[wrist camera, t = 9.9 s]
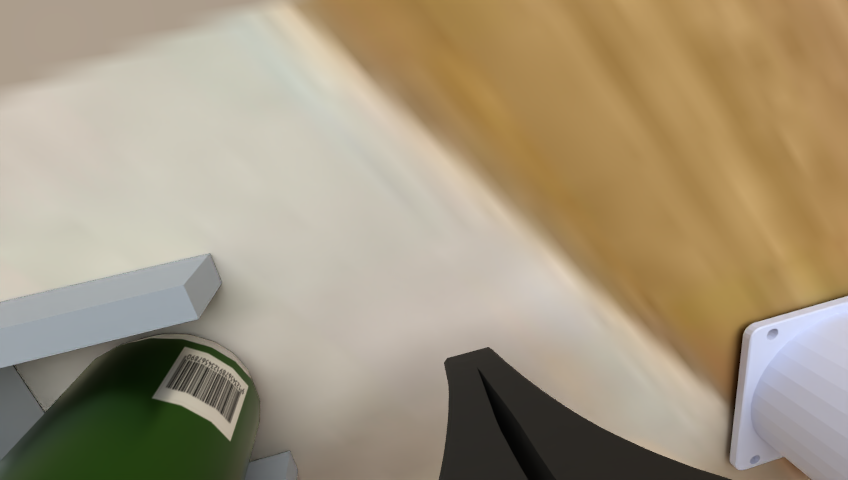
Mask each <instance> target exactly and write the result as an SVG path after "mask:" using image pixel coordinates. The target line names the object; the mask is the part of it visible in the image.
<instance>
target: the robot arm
mask: <svg viewBox="0 0 848 480" xmlns="http://www.w3.org/2000/svg"><path fill="white" fill-rule="evenodd" d="M444 365H445V370H446V375H447V379H448V385H449V412H448V424H447V434H446V443H445V450H444V456H443V462H442V467H441V472H440V477H439V480H731V479H728V478H725V477H721V476H718V475H715V474H712V473H709V472H706V471H702V470H699V469H696V468H693V467H691V466H688V465H685V464H683V463H680V462H677V461H675V460H672V459H670V458H667V457H664V456H662V455H659V454H657V453H654V452H652V451H650V450H647V449H645V448H643V447H640V446H638V445H636V444H634V443H632V442H630V441H628V440H625V439H623V438H621V437H619V436H617V435H614V434H613V433H611V432H609V431H607V430H605V429H603V428H601V427H599V426H597V425H595V424H594V423H592V422H590V421H588V420H587V419H585V418H583V417H581V416H580V415H578V414H576V413H575V412H573V411H572V410H570V409H568V408H567V407H565V406H564V405H562V404H561V403H559V402H558V401H556V400H555V399H553V398H552V397H550V396H549V395H548V394H546V393H545V392H543V391H542V390H541V389H539V388H538V387H537V386H535V385H534V384H533V383H531V382H530V381H529V380H527V379H526V378H525V377H524V376H522V375H521V374H520V373H519V372H517V371H516V370H515V369H514V368H513V367H511V366H510V365H509V364H508V363H507V362H505V361H504V360H503V359H502V358H501V357H500V356H499V355H498V354H496V353H495V352H494V351H493V350H492V349H490V348H489V347H487V348H484V349H480V350H476V351H472V352H469V353H465V354H461V355H458V356H454V357H450V358H447V359H446V361H445V362H444ZM782 457H785V458H786V459H787V460H789V461H790V462H791V463H792V464H793V465H795V466H796V467H797V468H798V469H799V470H801V471H802V472H803V473H804V474H806V475H807V476H808V477H809V478H810V479H812V480H848V296H846V297H842V298H839V299H835V300H832V301H828V302H825V303H821V304H818V305H814V306H811V307H807V308H804V309H801V310H797V311H794V312H790V313H787V314H783V315H780V316H776V317H773V318H769V319H766V320H762V321H759V322H755V323H753V324H751V325H749V326H748V327H747V328H746V329H745V331H744V333H743V340H742V349H741V358H740V367H739V377H738V386H737V395H736V404H735V413H734V422H733V432H732V441H731V450H730V463H731V464H732V465H733V466H734V467H735V468H736V469H737V470H745V469H749V468H752V467H755V466H758V465H761V464H764V463H767V462H770V461H773V460H776V459H779V458H782Z"/></svg>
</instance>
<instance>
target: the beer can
mask: <svg viewBox="0 0 848 480" xmlns="http://www.w3.org/2000/svg"><path fill="white" fill-rule="evenodd" d="M259 420H260V399H259V397H258V394H257V391H256V389H255V386H254V384H253V381H252V379H251V376H250V374H249V371H248V369H247V368H246V367H245V366H244V365H243V363H242V362H241V361H240V360H239V359H238V358H237V357H236V355H235V354H234V353H232V352H231V351H229V350H227V349H226V348H224V347H222V346H221V345H219V344H217V343H216V342H214V341H211V340H207V339H204V338H200V337H197V336H193V335H190V334H159V335H155V336H151V337H146V338H142V339H138V340H135V341H131V342H128V343H125V344H122V345H119V346H118V347H116V348H114V349H112V350H110V351H109V352H107V353H105V354H103V355H102V356H100V357H98V358H96V359H95V360H94V361H93V362H92V363H91V364H90V365H89V366H88V367H87V368H86V369H85V370H84V371H83V373H82V374H81V375H80V376H79V377H78V378H77V379H76V380H75V381H74V382H73V383H72V384H71V385H70V387H69V388H68V389H67V390H66V391H65V392H64V393H63V394H62V395H61V396H60V397H59V398H58V399H57V400H56V402H55V403H54V404H53V405H52V406H51V407H50V408H49V409H48V410H47V411H46V412H45V413H44V414H43V415H42V417H41V418H40V419H39V420H38V421H37V422H36V423H35V424H34V425H33V426H32V427H31V428H30V429H29V431H28V432H27V433H26V434H25V435H24V436H23V437H22V438H21V439H20V440H19V441H18V442H17V443H16V444H15V446H14V447H13V448H12V449H11V450H10V451H9V452H8V453H7V454H6V455H5V456H4V457H3V458H2V460H1V461H0V480H245V476H246V472H247V468H248V465H249V461H250V457H251V453H252V449H253V445H254V441H255V437H256V433H257V429H258V425H259Z"/></svg>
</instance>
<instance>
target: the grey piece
mask: <svg viewBox="0 0 848 480" xmlns="http://www.w3.org/2000/svg"><path fill="white" fill-rule="evenodd" d="M221 284H222V282H221V279H220V277H219V274H218V272H217V270H216V267H215V265H214V262H213V260H212V257H211V255H210V254H205V255H201V256H197V257H192V258H188V259H184V260H179V261H175V262H171V263H167V264H162V265H158V266H154V267H149V268H145V269H141V270H136V271H132V272H128V273H123V274H119V275H115V276H111V277H106V278H102V279H98V280H93V281H89V282H85V283H80V284H76V285H72V286H68V287H63V288H59V289H55V290H50V291H46V292H42V293H37V294H33V295H29V296H24V297H20V298H16V299H12V300H7V301H3V302H0V461H1V460H2V458H3V457H4V456H5V455H6V454H7V453H8V452H9V451H10V450H11V449H12V448H13V447H14V446H15V444H16V443H17V442H18V441H19V440H20V439H21V438H22V437H23V436H24V435H25V434H26V433H27V432H28V431H29V429H30V428H31V427H32V426H33V425H34V424H35V423H36V422H37V421H38V420H39V419H40V418H41V417H42V415H43V414H44V412H43V410H42V409H41V407H40V406H39V404H38V403H37V401H36V400H35V398H34V397H33V395H32V394H31V392H30V391H29V389H28V388H27V386H26V385H25V383H24V382H23V380H22V379H21V377H20V376H19V374H18V373H17V371H16V370H15V368H14V367H13V365H15V364H19V363H23V362H27V361H31V360H35V359H39V358H43V357H47V356H51V355H55V354H59V353H64V352H68V351H72V350H76V349H80V348H84V347H88V346H92V345H96V344H100V343H104V342H108V341H112V340H116V339H120V338H124V337H128V336H132V335H136V334H140V333H144V332H148V331H152V330H156V329H160V328H164V327H169V326H173V325H177V324H181V323H185V322H189V321H193V320H197V319H199V318H200V316H201V315H202V313H203V311H204V310H205V308H206V307H207V305H208V304H209V302H210V301H211V299H212V298H213V296H214V294H215V293H216V291H217V290H218V288H219V287H220V285H221ZM297 474H298V469H297V467H296V464H295V462H294V459H293V457H292V454H291V452H290V451H288V452H284V453H281V454H277V455H274V456H270V457H267V458H263V459H260V460H256V461H253V462H249V465H248V468H247V472H246V476H245V480H297Z"/></svg>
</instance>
